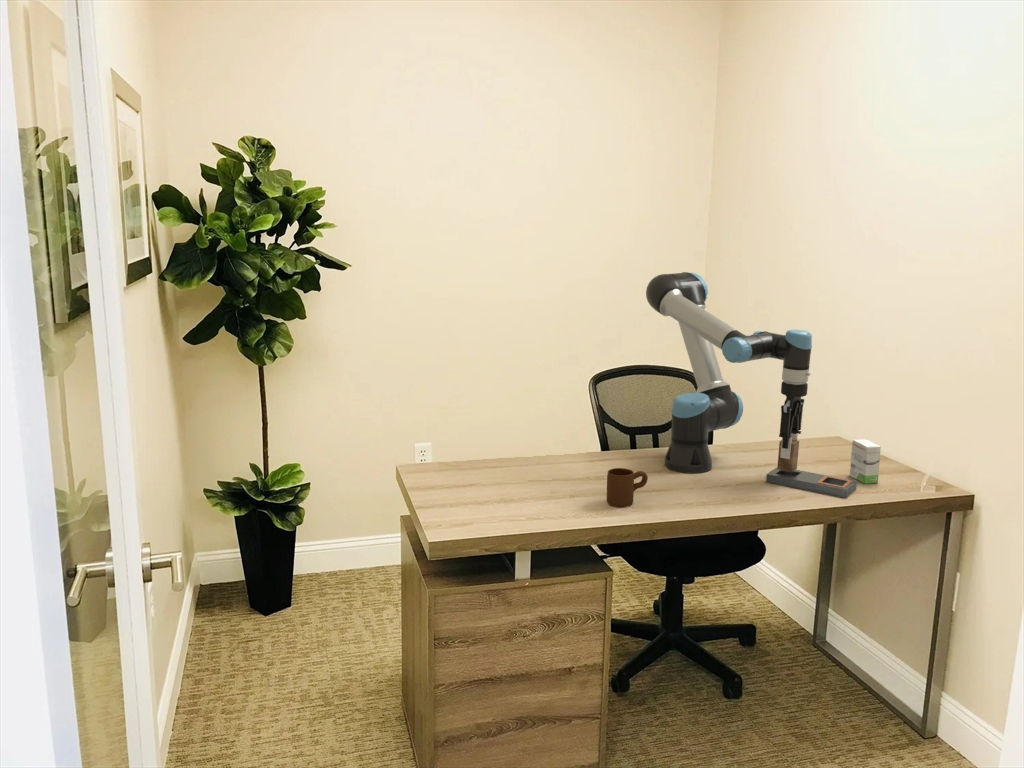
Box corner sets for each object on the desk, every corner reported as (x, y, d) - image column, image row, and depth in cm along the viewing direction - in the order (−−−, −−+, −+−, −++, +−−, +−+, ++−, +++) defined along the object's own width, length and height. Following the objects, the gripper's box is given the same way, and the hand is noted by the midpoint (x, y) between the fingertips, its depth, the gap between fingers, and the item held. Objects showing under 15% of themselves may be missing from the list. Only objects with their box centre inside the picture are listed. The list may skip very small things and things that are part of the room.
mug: (641, 496, 248) (642, 465, 246) (651, 505, 241) (653, 473, 239) (602, 500, 245) (603, 468, 243) (611, 509, 238) (612, 476, 236)
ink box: (878, 483, 260) (882, 446, 258) (863, 484, 259) (866, 446, 257) (863, 474, 268) (866, 438, 266) (848, 475, 268) (851, 439, 265)
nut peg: (777, 469, 261) (779, 441, 259) (782, 465, 265) (784, 438, 263) (791, 472, 259) (794, 444, 257) (796, 468, 262) (799, 440, 260)
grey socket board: (765, 481, 261) (766, 473, 261) (777, 473, 269) (778, 465, 268) (846, 498, 247) (847, 489, 246) (856, 489, 255) (857, 480, 254)
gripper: (797, 388, 247) (790, 465, 252) (817, 378, 260) (810, 451, 265) (771, 384, 251) (765, 460, 256) (792, 375, 265) (786, 447, 270)
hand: (788, 455), depth 261 cm, fingers closed on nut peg, 4 cm apart
